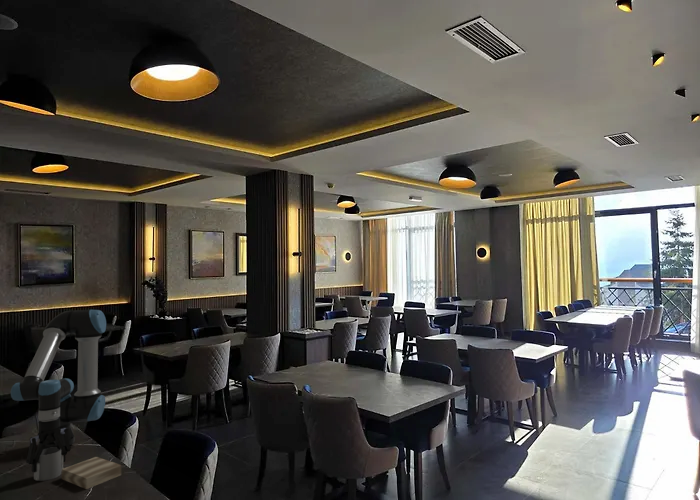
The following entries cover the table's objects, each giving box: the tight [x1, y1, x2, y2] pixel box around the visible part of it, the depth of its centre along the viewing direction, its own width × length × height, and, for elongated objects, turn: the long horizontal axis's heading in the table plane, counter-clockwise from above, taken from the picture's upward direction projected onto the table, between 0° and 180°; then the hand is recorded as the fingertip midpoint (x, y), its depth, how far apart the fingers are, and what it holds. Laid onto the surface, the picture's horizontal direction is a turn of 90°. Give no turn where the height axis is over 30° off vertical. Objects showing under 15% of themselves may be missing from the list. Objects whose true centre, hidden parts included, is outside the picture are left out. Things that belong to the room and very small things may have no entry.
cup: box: [37, 447, 62, 482], centre depth 188 cm, size 8×8×10 cm
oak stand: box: [61, 456, 122, 490], centre depth 186 cm, size 18×14×4 cm
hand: (48, 475), depth 188 cm, fingers closed on cup, 8 cm apart
